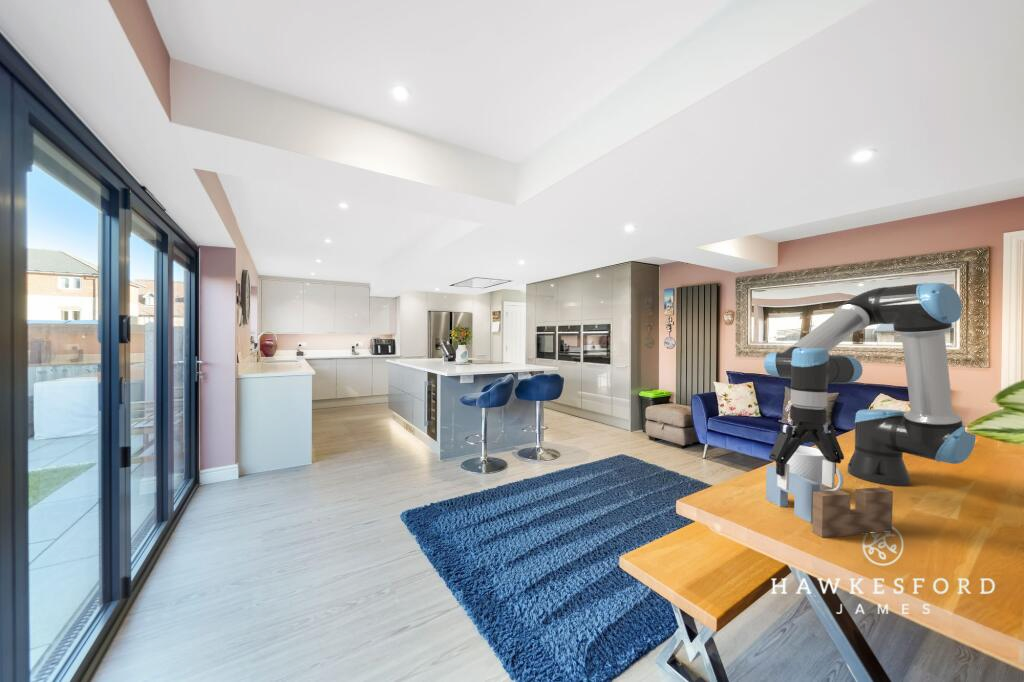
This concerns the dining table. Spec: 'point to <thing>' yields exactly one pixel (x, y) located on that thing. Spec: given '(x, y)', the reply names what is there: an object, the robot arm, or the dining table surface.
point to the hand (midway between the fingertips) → (805, 486)
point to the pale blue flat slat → (792, 493)
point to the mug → (811, 466)
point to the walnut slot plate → (852, 512)
